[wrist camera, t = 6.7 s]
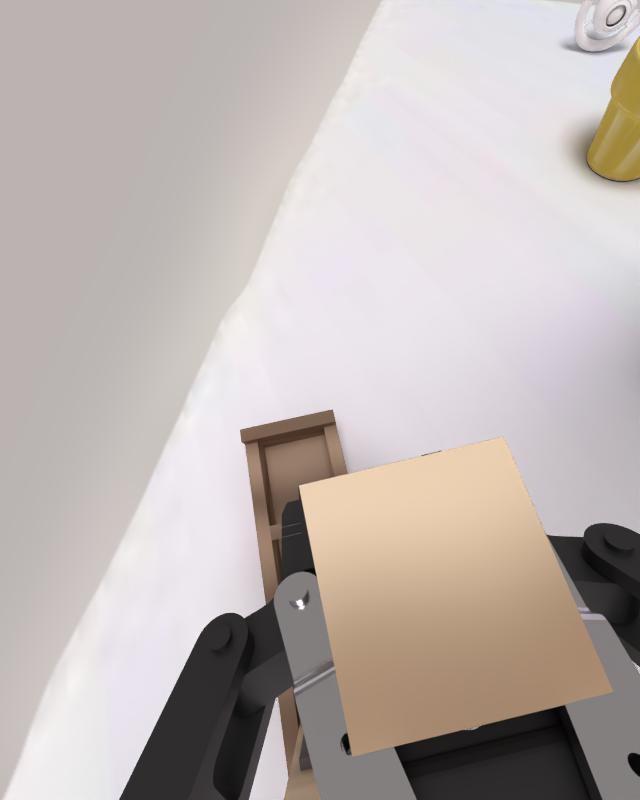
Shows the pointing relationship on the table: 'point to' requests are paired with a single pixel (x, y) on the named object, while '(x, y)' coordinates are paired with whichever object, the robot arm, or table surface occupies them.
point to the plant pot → (620, 125)
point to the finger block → (443, 598)
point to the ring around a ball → (606, 23)
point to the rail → (271, 490)
